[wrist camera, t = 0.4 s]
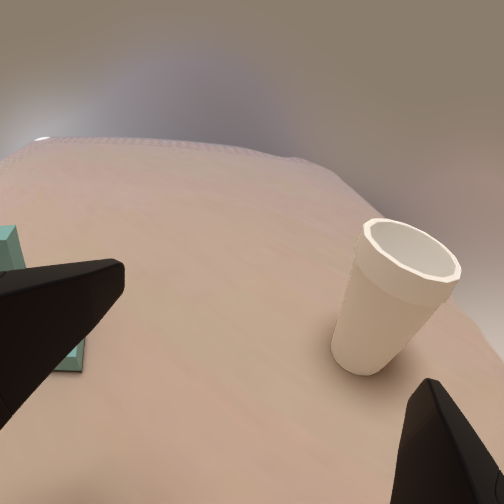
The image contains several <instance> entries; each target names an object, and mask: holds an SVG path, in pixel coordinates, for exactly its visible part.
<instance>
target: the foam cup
mask: <svg viewBox="0 0 504 504" xmlns="http://www.w3.org/2000/svg"><path fill="white" fill-rule="evenodd" d="M354 249H355V258H354V262H353V266H352V270H351V273H350V277H349V281H348V285H347V289H346V292H345V296H344V299H343V303H342V306H341V310H340V313H339V317H338V320H337V323H336V327H335V330H334V333H333V338H332V341H331V348H330V350H331V352H332V354H333V357H334V359H335V361H336V362H337V363H338V364H339V365H340V366H341V367H343V368H344V369H345V370H347V371H349V372H351V373H354V374H356V375H366V376H370V375H372V374H374V373H377V372H379V371H380V370H381V369H382V368H383V367H384V366H385V365H386V364H387V363H388V362H389V361H390V360H391V359H392V358H393V357H394V356H395V355H396V354H397V353H398V352H399V351H400V350H401V349H402V348H403V347H404V346H405V345H406V344H407V343H408V342H409V341H410V340H411V338H412V337H413V336H414V335H415V334H416V333H417V332H418V331H419V330H420V328H421V327H422V326H423V325H424V324H425V323H426V322H427V320H428V319H429V318H430V317H431V316H432V315H433V313H434V312H435V311H436V310H437V309H438V307H439V306H440V305H441V304H442V303H445V302H446V301H447V299H448V298H449V296H450V294H451V293H452V291H453V289H454V287H455V286H456V284H457V282H458V280H459V278H460V274H461V267H460V265H459V263H458V261H457V259H456V257H455V256H454V255H453V254H452V253H451V252H450V251H449V250H448V249H447V248H446V247H445V246H444V245H443V244H442V243H440V242H439V241H437V240H436V239H434V238H433V237H431V236H429V235H428V234H427V233H425V232H423V231H421V230H419V229H416V228H414V227H412V226H410V225H408V224H405V223H402V222H398V221H394V220H390V219H371V220H369V221H368V222H366V223H365V224H363V227H362V229H361V232H360V235H359V238H358V240H357V243H356V245H355V248H354Z"/></svg>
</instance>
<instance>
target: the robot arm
mask: <svg viewBox="0 0 504 504" xmlns="http://www.w3.org/2000/svg"><path fill="white" fill-rule="evenodd" d="M124 287H125V267H124V264H123V263H122V262H120V261H117V260H115V259H102V260H93V261H84V262H76V263H67V264H59V265H50V266H42V267H33V268H25V269H16V270H9V271H0V430H1V429H2V428H3V427H4V425H5V424H6V423H7V422H8V421H9V420H10V418H11V417H12V415H14V413H15V412H16V411H17V410H18V409H19V408H20V407H21V405H22V404H23V403H24V402H25V401H26V400H27V399H28V398H29V396H30V395H31V394H32V393H33V392H34V391H35V390H36V389H37V388H38V387H39V385H40V384H41V383H42V382H43V381H44V380H45V379H46V378H47V377H48V376H49V375H50V373H51V372H52V371H53V370H54V369H55V368H56V367H57V366H58V365H59V364H60V363H61V362H62V361H63V360H64V359H65V358H66V356H67V355H68V354H69V353H70V352H71V351H72V350H73V349H74V348H75V347H76V346H77V345H78V344H79V343H80V342H81V341H82V340H83V339H84V338H85V337H86V336H87V335H88V334H89V333H90V332H91V331H92V330H93V329H94V327H95V326H96V325H97V324H98V323H99V322H100V320H101V319H102V318H103V317H104V315H105V314H106V313H107V312H108V310H109V309H110V308H111V307H112V306H113V304H114V303H115V302H116V301H117V299H118V298H119V297H120V296H121V295H122V293H123V291H124ZM390 504H504V475H503V473H502V472H501V470H499V467H498V466H497V464H496V462H495V461H494V459H493V458H492V456H491V455H490V453H489V452H488V450H487V449H486V447H485V445H484V444H483V442H482V441H481V439H480V438H479V437H478V435H477V434H476V432H475V431H474V429H473V428H472V426H471V425H470V423H469V422H468V420H467V419H466V418H465V416H464V415H463V413H462V412H461V411H460V409H459V408H458V406H457V405H456V404H455V402H454V401H453V399H452V398H451V397H450V395H449V394H448V393H447V391H446V390H445V388H444V387H443V386H442V384H441V383H440V382H439V381H438V380H434V379H430V378H426V379H424V380H423V381H422V382H421V384H420V385H419V386H418V388H417V389H416V390H415V392H414V393H413V394H412V395H411V397H410V398H409V400H408V403H407V407H406V413H405V419H404V424H403V429H402V434H401V439H400V444H399V449H398V455H397V463H396V470H395V477H394V484H393V490H392V496H391V501H390Z"/></svg>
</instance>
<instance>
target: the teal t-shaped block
mask: <svg viewBox="0 0 504 504" xmlns="http://www.w3.org/2000/svg"><path fill="white" fill-rule="evenodd" d="M25 268H26V266H25V262H24V258H23V255H22V251H21V247H20V242H19V238H18V234H17V229H16V225H10V226H0V271H9V270H16V269H25ZM84 339H85V338H84ZM84 339H83V340H82V341H81V342H80V343H79V344H78V345H77V346H76V347H75V348H74V349H73V350H72V351H71V352H70V353H69V354H68V355H67V356H66V358H65V359H64V360H63V361H62V362H61V363H60V364H59V365H58V366H57V367H56V368H55V369H54V370H70V371H82V359H83V348H84Z"/></svg>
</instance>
